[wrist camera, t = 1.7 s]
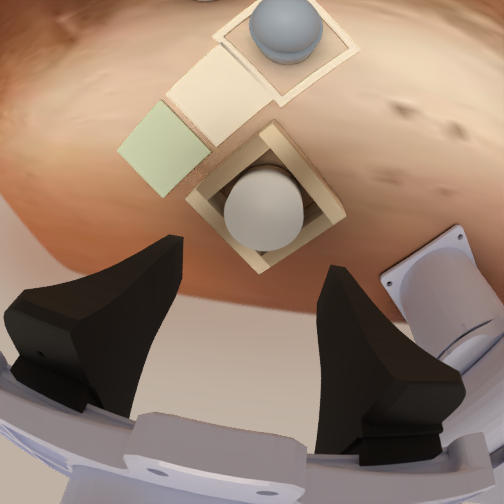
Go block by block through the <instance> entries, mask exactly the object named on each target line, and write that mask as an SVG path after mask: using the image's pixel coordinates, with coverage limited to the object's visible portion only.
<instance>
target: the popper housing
mask: <svg viewBox="0 0 504 504" xmlns="http://www.w3.org/2000/svg"><path fill="white" fill-rule="evenodd" d="M270 148H271V150H272V151H273V152H274V153H275V154H276V155H277V156H278V158H279V159H280V160H281V161H282V162H283V163H284V165H285V166H286V167H287V168H288V169H289V171H290V172H291V173H292V174H293V175H294V176H295V178H296V179H297V180H298V181H299V182H300V184H301V185H302V186H303V187H304V189H305V190H306V191H307V192H308V193H309V195H310V196H311V197H312V198H313V200H314V201H315V202H313V203H312V204H311V205H309V206H308V207H306V208H305V209H304V210H303V214H304V218H303V224H302V228H301V230H300V232H299V234H298V235H297V237H296V238H295V239H294V240H293V241H292V242H291V243H289V244H288V245H286V246H285V247H282V248H280V249H277V250H273V251H258V250H253V249H250V248H248V247H245V246H244V245H242V244H240V243H239V242H238V241H237V240H235V239H234V237H233V236H232V235H231V234H230V232H229V231H228V229H227V227H226V224H225V220H224V207H225V203H226V201H227V198H226V197H225V196H224V195H223V194H222V193H221V192H220V189H221V188H222V187H224V186H225V185H226V184H227V183H228V182H230V181H231V180H232V179H233V178H234V177H236V176H237V175H238V174H239V173H240V172H242V171H243V170H244V169H245V168H246V167H248V166H249V165H250V164H251V163H253V162H254V161H255V160H256V159H257V158H259V157H260V156H261V155H262V154H264V153H265V152H266V151H267V150H269V149H270ZM185 200H186V201H187V202H188V203H189V204H190V205H191V206H192V207H193V208H194V209H195V210H196V211H197V212H198V213H199V214H200V215H201V216H202V217H203V218H204V219H205V220H206V221H207V222H208V223H209V224H210V225H211V226H212V227H213V228H214V229H215V230H216V231H217V232H218V234H219V235H220V236H221V237H222V238H223V239H224V240H225V241H226V242H227V243H228V244H229V245H230V246H231V247H232V248H233V249H234V250H235V251H236V252H237V253H238V254H239V255H240V256H241V257H242V258H243V259H244V260H245V261H246V262H247V263H248V264H249V265H250V266H251V267H252V268H253V269H254V270H255V271H256V272H257V273H258V274H261V273H262V272H264V271H265V270H267V269H268V268H270V267H272V266H273V265H275V264H276V263H278V262H279V261H281V260H282V259H284V258H285V257H287V256H288V255H290V254H291V253H293V252H294V251H296V250H297V249H299V248H300V247H302V246H303V245H305V244H306V243H308V242H309V241H311V240H312V239H314V238H315V237H317V236H318V235H320V234H321V233H323V232H324V231H326V230H327V229H329V228H330V227H332V226H333V225H335V224H336V223H338V222H339V221H340V220H342V219H343V218H345V217H346V216H347V215H346V213H345V210H344V208H343V205H342V203H341V200H340V199H339V198H338V196H337V195H336V194H335V192H334V191H333V190H332V188H331V187H330V186H329V185H328V183H327V182H326V181H325V179H324V178H323V177H322V176H321V174H320V173H319V172H318V170H317V169H316V168H315V167H314V165H313V164H312V163H311V162H310V160H309V159H308V158H307V157H306V156H305V154H304V153H303V152H302V151H301V149H300V148H299V147H298V146H297V145H296V143H295V142H294V141H293V140H292V139H291V138H290V136H289V135H288V134H287V133H286V132H285V131H284V129H283V128H282V127H281V126H280V125H279V124H278V122H277V121H276V120H275V119H273V120H272V121H271V122H270V123H268V124H267V125H266V126H265V127H263V128H262V129H261V130H260V131H259V132H257V133H256V134H255V135H254V136H252V137H251V138H250V139H249V140H248V141H246V142H245V143H244V144H243V145H242V146H241V147H239V148H238V149H237V150H236V151H235V152H233V153H232V154H231V155H230V156H229V157H228V158H226V159H225V160H224V161H223V162H222V163H221V164H220V165H218V166H217V167H216V168H215V169H214V170H213V171H212V172H211V173H209V174H208V175H207V176H206V177H205V178H204V179H203V180H202V181H201V182H199V183H198V184H197V185H196V186H195V188H194V189H193V190H192V191H191V192H190V193H189V195H188V196H187V197H186V198H185Z"/></svg>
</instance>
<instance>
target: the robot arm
mask: <svg viewBox="0 0 504 504" xmlns="http://www.w3.org/2000/svg"><path fill="white" fill-rule="evenodd" d="M460 234H461V236H460V237H458V236H459V235H460ZM183 238H184V237H180V236H175V235H170V234H169V235H167V236H165V237H164V238H162V239H160V240H159V241H157V242H155V243H154V244H152V245H150V246H148V247H147V248H145V249H143V250H142V251H140V252H138V253H137V254H135V255H133V256H131V257H129V258H127V259H125V260H123V261H122V262H120V263H118V264H116V265H114V266H111V267H109V268H107V269H104V270H102V271H100V272H97V273H95V274H92V275H89V276H86V277H83V278H80V279H77V280H73V281H70V282H66V283H62V284H57V285H53V286H47V287H40V288H33V289H26V290H24V291H23V292H22V293H21V294H20V295H19V296H18V297H17V299H16V300H15V301H14V302H13V303H12V304H11V305H10V306H9V308H8V309H7V310H6V311H5V312H4V322H5V327H6V329H7V332H8V334H9V336H10V337H11V339H12V341H13V343H14V345H15V347H16V349H17V350H18V352H19V354H20V356H19V357H18V358H17V360H16V361H15V363H14V364H13V366H11V365H9V364H7V361H6V359H5V357H4V355H3V354H2V353H1V351H0V434H1V435H3V436H4V437H5V438H7V439H8V440H9V441H11V442H12V443H14V444H15V445H17V446H18V447H19V448H21V449H23V450H24V451H25V452H27V453H28V454H30V455H32V456H33V457H35V458H36V459H38V460H40V461H41V462H43V463H44V464H46V465H48V466H49V467H51V468H53V469H55V470H56V471H58V472H60V473H62V474H63V475H65V476H67V477H69V478H70V479H69V481H68V484H67V487H66V489H65V492H64V495H63V497H62V500H61V503H60V504H462V503H464V502H473V503H481V504H504V305H503V304H502V302H501V301H500V299H499V298H498V296H497V295H496V293H495V292H494V291H493V289H492V288H491V286H490V285H489V284H488V282H487V281H486V279H485V278H484V277H483V275H482V274H481V273H480V271H479V270H478V269H477V266H476V263H475V260H474V257H473V254H472V251H471V248H470V246H469V243H468V240H467V238H466V235H465V232H464V230H463V228H462V227H461V226H460V225H455V226H453V227H452V228H451V229H449V230H448V231H446V232H445V233H444V234H442V235H441V236H439V237H438V238H436V239H435V240H433V241H432V242H431V243H429V244H428V245H426V246H425V247H423V248H422V249H420V250H419V251H417V252H416V253H414V254H413V255H411V256H410V257H408V258H407V259H405V260H403V261H402V262H400V263H399V264H397V265H396V266H394V267H392V268H391V269H389V270H388V271H386V272H385V273H383V274H382V275H381V276H380V280H381V283H382V285H383V286H384V287H385V289H386V290H387V292H388V293H389V295H390V296H391V298H392V299H393V301H394V303H395V304H396V306H397V307H398V309H399V310H400V312H401V313H402V315H403V316H404V318H405V320H406V321H407V323H408V324H409V326H410V328H411V331H412V334H413V337H414V339H415V342H416V344H415V343H414V342H413V341H412V340H410V339H409V338H408V337H407V336H406V335H404V334H403V333H402V332H401V331H400V330H399V329H398V328H397V327H396V326H395V325H394V324H393V323H392V322H390V321H389V320H388V319H387V317H386V316H385V315H384V314H383V313H382V312H381V311H380V310H379V309H378V308H377V306H376V305H375V304H374V303H373V302H372V301H371V299H370V298H369V297H368V296H367V294H366V293H365V292H364V291H363V289H362V288H361V287H360V286H359V284H358V283H357V282H356V280H355V279H354V278H353V276H352V275H351V274H350V273H349V271H348V270H347V269H346V268H345V267H341V266H335V265H330V268H329V271H328V274H327V277H326V279H325V282H324V285H323V288H322V291H321V293H320V296H319V299H318V302H317V319H316V324H317V335H318V345H319V354H320V364H321V398H320V411H319V422H318V432H317V440H316V447H315V453H314V454H307V447H306V446H304V445H303V444H301V443H300V442H298V441H297V440H295V439H294V438H290V437H286V436H281V435H277V434H270V433H264V432H256V431H250V430H243V429H237V428H231V427H226V426H220V425H216V424H211V423H206V422H201V421H197V420H193V419H188V418H184V417H180V416H176V415H171V414H165V413H159V412H152V413H146V414H142V415H138V418H137V420H136V421H133V420H131V419H129V417H130V412H131V408H132V404H133V400H134V396H135V393H136V390H137V386H138V382H139V379H140V376H141V373H142V370H143V367H144V364H145V361H146V358H147V355H148V353H149V349H150V347H151V345H152V342H153V340H154V338H155V336H156V334H157V332H158V330H159V328H160V326H161V324H162V322H163V320H164V318H165V316H166V314H167V313H168V311H169V308H170V306H171V305H172V303H173V301H174V299H175V297H176V294H177V291H178V289H179V286H180V283H181V280H182V269H183ZM389 281H391V282H390V283H389V284H387V282H389Z"/></svg>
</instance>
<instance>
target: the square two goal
mask: <svg viewBox="0 0 504 504" xmlns="http://www.w3.org/2000/svg"><path fill="white" fill-rule="evenodd" d="M117 151H118V152H119V154H120V155H121V156H122V157H123V158H124V159H125V160H126V161H127V162H128V163H129V164H130V165H131V166H132V167H133V168H134V169H135V170H136V171H137V172H138V173H139V174H140V175H141V176H142V177H143V178H144V180H145V181H146V182H147V183H148V184H149V185H150V186H151V187H152V188H153V189H154V190H155V191H156V192H157V193H158V194H159V195H160V196H161V197H162V198H164V197H165V196H166V195H167V194H168V193H169V192H170V191H171V190H172V189H173V188H174V187H175V186H176V185H177V184H178V183H179V182H180V181H181V180H182V179H183V178H184V177H185V176H186V175H187V174H188V173H189V172H190V171H191V170H192V169H193V168H195V167H196V166H197V165H198V164H199V163H200V162H201V161H202V160H203V159H204V158H205V157H206V156H207V155H209V154H210V153H211V152H212V151H211V150H210V149H209V148H208V147H207V146H206V145H205V144H204V143H203V142H202V141H201V140H200V139H199V138H198V137H197V136H196V135H195V133H194V132H193V131H192V130H191V129H190V128H189V127H188V126H187V125H186V124H185V123H184V122H183V121H182V120H181V119H180V118H179V117H178V116H177V115H176V114H175V113H174V112H173V111H172V110H171V109H170V108H169V107H168V106H167V105H166V104H165V103H164V102H163V101H162V100H160V101H159V102H158V103H157V104H156V105H155V106H154V108H153V109H152V110H151V111H150V112H149V113H148V114H147V115H146V116H145V118H144V119H143V120H142V121H141V122H140V123H139V124H138V126H137V127H136V128H135V129H134V130H133V132H132V133H131V134H130V135H129V136H128V138H127V139H126V140H125V141H124V142H123V144H122V145H121V146H120V147H119V149H118V150H117Z"/></svg>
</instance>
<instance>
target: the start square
mask: <svg viewBox="0 0 504 504" xmlns="http://www.w3.org/2000/svg"><path fill="white" fill-rule="evenodd" d="M261 1H262V0H257V1H256V2H255V3H253V4H252V5H251V6H249V7H248V8H247V9H245V10H244V11H243V12H241V13H240V14H239V15H237V16H236V17H235V18H234V19H232V20H231V21H230V22H229V23H227V24H226V25H225V26H224V27H223V28H221V29H220V30H219V31H218V32H217V33H215V34H214V35H213V36H212V37H213V38H214V39H215V40H216V41H217V42H218V43H219V44H220V43H223V45H222V44H221V46H222V47H225V46H224V45H226V46H227V47H225V50H226V49H227V52H228V50H229V49H230V50H231V51H232V52H233V53H234V54H235V56H237V58H236V59H238V58H239V59H240V60H241V62H243V63H244V65H246V66H247V68H249V69H250V70H251V71H252V72H253V73H254V74H255V75H256V76H257V77H258V78H259V80H260V81H261V82H262V83H263V84H264V85H265V86H266V87H267V88H268V89H269V90H270V91H271V92H272V94H273V95H274V96H275V97H276V98H274V101H275V102H276V103H277V104H278V105H279V106H280V107H282V106H284V105H285V104H286V103H288V102H289V101H290V100H292V99H293V98H294V97H295V96H297V95H298V94H299V93H301V92H302V91H303V90H305V89H306V88H307V87H309V86H310V85H312V84H313V83H314V82H316V81H317V80H318V79H320V78H321V77H323V76H324V75H325V74H327V73H328V72H330V71H331V70H332V69H334V68H335V67H337V66H338V65H340V64H341V63H343V62H344V61H346V60H347V59H348V58H350V57H351V56H353V55H354V54H356V53H357V52H359V51H361V50H360V49H359V48H358V47H357V46H356V44H355V43H354V42H353V41H352V40H351V38H350V37H349V36H348V35H347V34H346V33H345V32H344V30H343V29H342V28H341V27H340V26H339V25H338V24H337V23H336V22H335V21H334V20H333V18H332V17H331V16H330V15H329V14H328V13H327V12H326V11H325V10H324V9H323V8H322V7H321V6H320V5H319V4H318V3H317V2H316V1H315V0H307V1H308V2H310V3H311V4H312V5H313V6H314V8H315V9H316V10H317V12H318V13H319V15H320V17H321V18H322V19H323V20H324V21H325V22H326V24H327V25H328V26H329V27H330V28H331V29H332V30H333V31H334V32H335V33H336V34H337V36H338V37H339V38H340V39H341V40H342V41H343V42H344V44H345V45H346V46H347V47H348V48H349V49H347V50H346V51H344V52H343V53H341V54H340V55H338V56H337V57H335V58H334V59H333V60H331V61H330V62H328V63H327V64H325V65H324V66H323V67H321V68H320V69H318V70H317V71H316V72H314V73H313V74H311V75H310V76H309V77H307V78H306V79H305V80H303V81H302V82H301V83H299V84H298V85H297V86H295V87H294V88H293V89H291V90H290V91H289V92H287V93H286V94H285V95H283V96H281V95H280V94H279V93H278V92H277V91H276V90H275V89H274V87H273V86H272V85H271V84H270V83H269V82H268V81H267V80H266V79H265V78H264V77H263V76H262V75H261V73H260V72H259V71H258V70H257V69H256V68H255V67H254V66H253V65H252V64H251V63H250V62H249V61H248V60H247V59H246V58H245V57H244V56H243V55H242V54H241V53H240V52H239V51H238V50H237V49H236V48H235V47H234V46H233V45H232V44H231V43H230V42H229V41H228V40H226V39H225V38H224V36H225V35H227V34H228V33H229V32H230V31H232V30H233V29H234V28H235V27H236V26H238V25H239V24H240V23H242V22H243V21H244V20H245V19H247V18H248V17H249V16H251V15H252V13H253V11H254V9H255V8H256V7H257V5H258V4H259V3H260V2H261ZM230 50H229V53H230V52H231V51H230ZM232 52H231V53H230V54H231V55H232V54H233V53H232ZM233 56H234V55H233ZM234 58H235V57H234ZM241 65H242V64H241ZM247 68H246V69H247ZM256 80H257V79H256Z"/></svg>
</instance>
